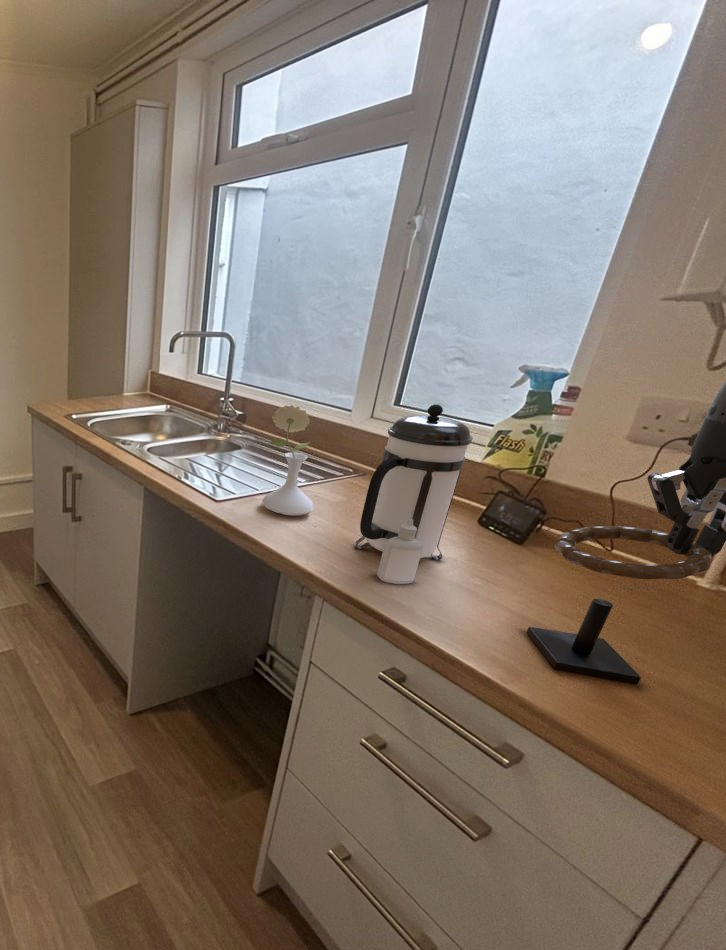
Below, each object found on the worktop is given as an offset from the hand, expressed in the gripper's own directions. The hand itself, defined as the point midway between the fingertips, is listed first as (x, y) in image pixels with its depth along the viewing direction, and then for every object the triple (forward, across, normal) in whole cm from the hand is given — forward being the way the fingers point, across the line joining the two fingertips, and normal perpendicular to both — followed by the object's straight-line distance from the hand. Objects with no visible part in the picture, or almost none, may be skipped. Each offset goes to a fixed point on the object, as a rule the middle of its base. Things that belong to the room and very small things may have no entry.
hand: (689, 552), depth 67 cm
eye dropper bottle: (+18, -26, +16) cm, 35 cm away
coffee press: (+18, -24, +27) cm, 40 cm away
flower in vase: (+18, -44, +45) cm, 65 cm away
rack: (+18, -6, 0) cm, 19 cm away
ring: (+1, -6, 0) cm, 6 cm away
